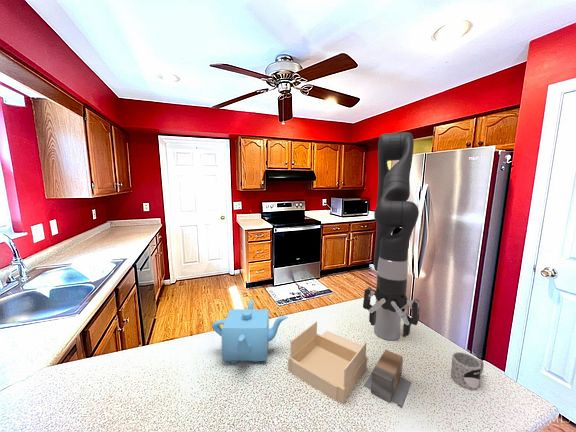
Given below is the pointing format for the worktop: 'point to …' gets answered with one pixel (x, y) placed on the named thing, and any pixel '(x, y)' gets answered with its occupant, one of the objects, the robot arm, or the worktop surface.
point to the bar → (386, 375)
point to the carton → (327, 362)
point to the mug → (466, 370)
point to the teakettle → (246, 334)
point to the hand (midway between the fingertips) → (388, 329)
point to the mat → (399, 392)
